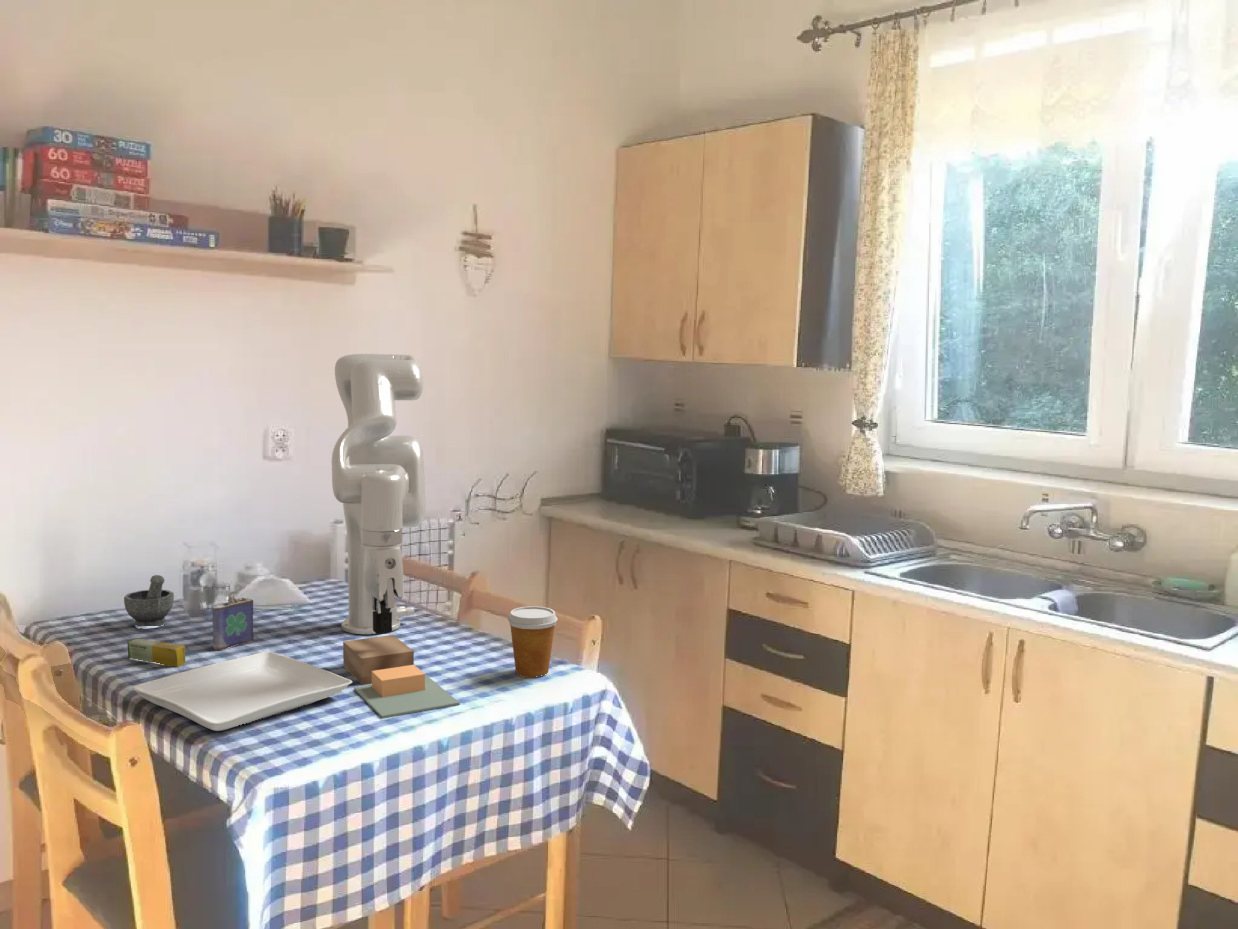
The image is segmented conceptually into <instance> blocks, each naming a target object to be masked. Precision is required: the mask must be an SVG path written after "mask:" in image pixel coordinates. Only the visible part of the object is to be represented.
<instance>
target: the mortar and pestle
mask: <svg viewBox="0 0 1238 929" xmlns="http://www.w3.org/2000/svg"><path fill="white" fill-rule="evenodd" d="M149 582H150V584H149V588H148V589H144V590H139V591H138V590H137V591H134V592H130V593H127V594H126V595H125V596H124V597H123V603H124V607H125V612H126V613H127V614H128V615H129V617H131V618H132V619H133V620H134V624H135V625H137V626H161V625H163V624H164V623H165V622H166V618H165V617H166V616H167V615H168V614H169V613H170V612H171V610H172V608H173V605H174V598H175V593H174V592H173V591H172V590H171V591H170V590H168V589H163V585H164V583H165V578H164V576H162V575H159V574H154V575H152V576H151V577H150V580H149ZM166 623H167V622H166Z"/></svg>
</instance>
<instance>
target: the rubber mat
mask: <svg viewBox="0 0 1238 929" xmlns="http://www.w3.org/2000/svg"><path fill="white" fill-rule="evenodd" d="M353 688H354V691H355V692H356V693H357V694H358V695H359V697H361V698H362V700H364V702H366V704H368V705H369V706H370V708H371V709H372V710H373V711H374V712H375V713H376V714H377V715H378V716H379V717H380V718H381V719H385V718H390V717H391V718H392V717H397V716H402V715H409V714H413V713H420V711H421V712H425V711H426V712H427V711H431V710H437V709H438V710H439V709H442V708H449V707H455V706H458V705H459V706H460V705H461V704H460V701H459V700H457V699H456V698H455V697H453V695H451V694H450V693H448V691H446V690H445V689H444V688H443V687H441V686H440V685H439V684H438V683H436V682H435V681H434V680H433V679H432V678H431V677H429V675H425V690H422V691H416V692H410V693H403V694H397V695H391V696H385V697H382V696H381V695H380V694H379V693H378V692H376V691H375V690H374V689H373V688H372V684H369V685H368V684H366V685H362V686H361V685H360V686H357V687H356V686H355V687H353ZM454 705H455V706H454Z"/></svg>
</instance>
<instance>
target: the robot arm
mask: <svg viewBox="0 0 1238 929" xmlns="http://www.w3.org/2000/svg"><path fill="white" fill-rule="evenodd" d="M334 376H335V377H334V378H335V379H334V380H335V384H336V388H337V391H338V394H339V397H340V400H341V402H342V404H343V407H344V409H345V413H346V416H347V428H345V430H344V431H343V432H342V433H341V434H340V436H339V437H338V439H337V441H336V442H335V443H334V444H335V445H334V447H333V450H332V453H331V454H332V455H331V485H332V492H333V497H335V499H336V500H337V501H338V502H340V503H342V507H343V515H344V516H343V517H344V521H345V525H346V527H345V529H346V538H347V569H348V572H347V574H348V580H347V581H348V585H347V586H348V593H347V594H348V618H346V619H344V620H343V621H341V629H342V630H343V631H344V632H346V633H350V634H356V635H379V634H380V635H381V634H386V633H391V632H392V631H395V630H398V629H399V628H400V627H401V620H400V619H401V617H405V616H406V617H407V616H408V617H409V616H414V615H415V608H414V606H407V607H406V606H405V605H400V606H396V605H395V597H397V599H399V600H402V599H403V598H404V596H405V584H404V566H403V556H402V555H403V554H402V551H401V550H402V549H401V547H402V546H403V542H404V541H403V529H404V528H406V529H407V528H408V529H409V528H416V527H419V526H421V525H422V524H423V523H424V522H425V518H426V491H425V490H426V486H425V484H426V483H425V466H424V463H425V462H424V452H423V448H422V445H421V443H420V441H419V439H417V438H416V437H414V436H411V435H391V434H392V433H394V431H395V429H396V426H397V415H396V414H397V413H396V403H395V401H416V400H418V399H420V397H421V395H422V394H423V388H424V376H423V372H422V369H421V366H420V363H419V362H418V361H417V359H416V358H415V357H414V356H413V355H410V354H385V353H383V354H382V353H379V354H378V353H375V354H374V353H353V354H346V355H344V356H341V357H339V358H338V359H337V360H336V362H335V366H334ZM347 459H348V463H349V464H347Z"/></svg>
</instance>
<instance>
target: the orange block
mask: <svg viewBox="0 0 1238 929" xmlns="http://www.w3.org/2000/svg"><path fill="white" fill-rule="evenodd" d="M425 676H426V673H424V672H423V671H422V670H421V669H419V668H418V667H417V666H416V665H415V664H414V665H408V666H402V667H395V668H388V669H382V670H375V671H372V683H371V685H372V688H373V689H374V690H375V691H376V692H378V693H379V694H380V695H381V696H382V697H385V696H391V695H397V694H403V693H410V692H416V691H422V690H425Z"/></svg>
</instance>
